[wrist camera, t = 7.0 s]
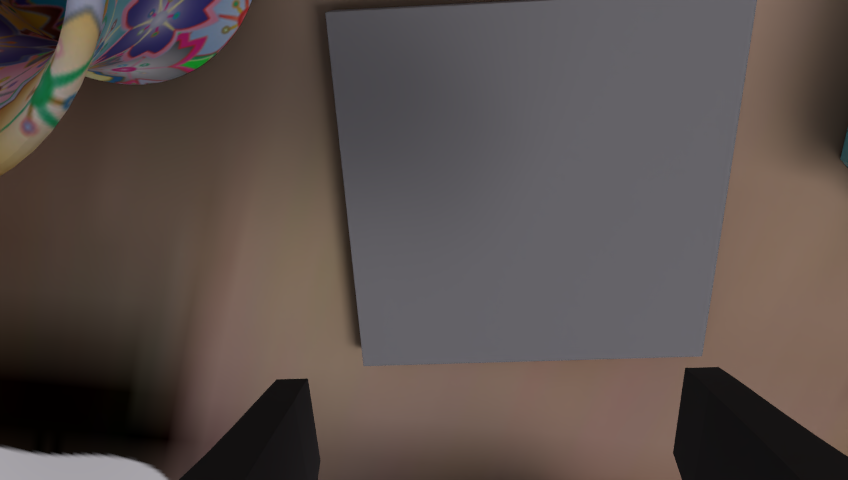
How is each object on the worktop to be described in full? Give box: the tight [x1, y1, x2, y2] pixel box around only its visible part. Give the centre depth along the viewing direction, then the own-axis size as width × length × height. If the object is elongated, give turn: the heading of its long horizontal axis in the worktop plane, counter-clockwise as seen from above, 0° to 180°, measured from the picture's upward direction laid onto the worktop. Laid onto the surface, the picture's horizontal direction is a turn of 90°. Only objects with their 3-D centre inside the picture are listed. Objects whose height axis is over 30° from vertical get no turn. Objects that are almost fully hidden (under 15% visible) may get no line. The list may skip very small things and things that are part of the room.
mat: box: [325, 0, 757, 366], centre depth 20 cm, size 12×12×1 cm
